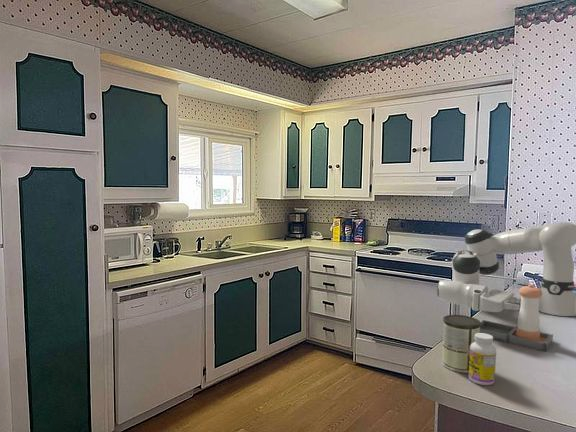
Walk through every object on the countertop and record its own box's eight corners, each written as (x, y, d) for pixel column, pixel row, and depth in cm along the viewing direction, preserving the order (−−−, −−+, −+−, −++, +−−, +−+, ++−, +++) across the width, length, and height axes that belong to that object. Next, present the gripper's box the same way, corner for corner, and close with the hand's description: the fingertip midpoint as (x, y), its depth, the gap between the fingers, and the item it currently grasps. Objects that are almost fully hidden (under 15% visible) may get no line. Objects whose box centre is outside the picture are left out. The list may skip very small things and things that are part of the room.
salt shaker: (543, 343, 146) (546, 287, 144) (519, 341, 147) (523, 286, 145) (535, 335, 153) (538, 282, 151) (513, 334, 154) (516, 281, 153)
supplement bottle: (463, 375, 122) (466, 331, 121) (486, 374, 123) (488, 331, 122) (476, 386, 115) (478, 340, 114) (499, 386, 116) (502, 339, 115)
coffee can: (442, 356, 136) (444, 312, 134) (478, 362, 131) (480, 317, 130) (439, 368, 126) (441, 322, 125) (477, 375, 122) (480, 327, 121)
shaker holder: (483, 326, 165) (483, 320, 165) (552, 341, 150) (552, 334, 150) (473, 334, 156) (473, 327, 156) (545, 351, 141) (546, 344, 141)
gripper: (488, 299, 167) (528, 307, 158) (471, 311, 151) (514, 320, 143) (489, 284, 167) (529, 290, 158) (472, 293, 151) (515, 301, 142)
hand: (522, 304), depth 150 cm, fingers open, 8 cm apart
